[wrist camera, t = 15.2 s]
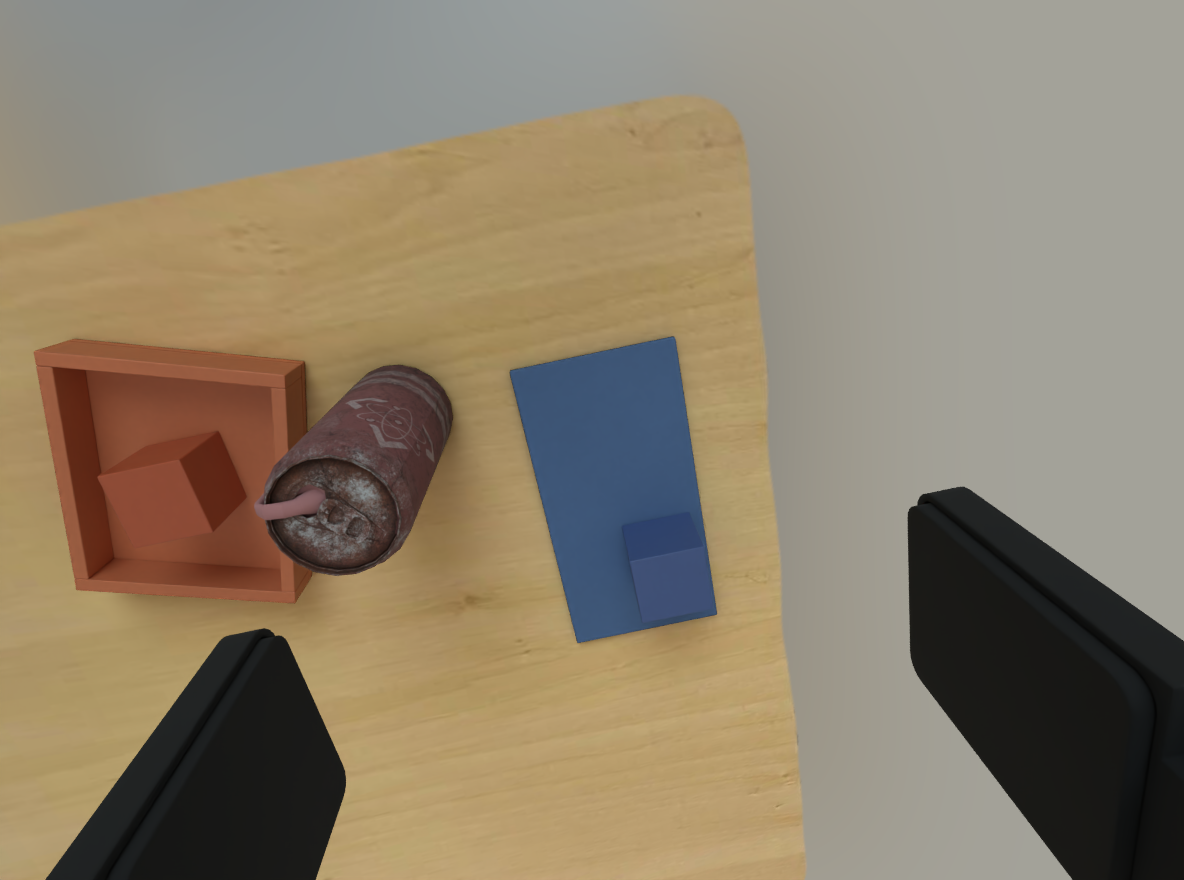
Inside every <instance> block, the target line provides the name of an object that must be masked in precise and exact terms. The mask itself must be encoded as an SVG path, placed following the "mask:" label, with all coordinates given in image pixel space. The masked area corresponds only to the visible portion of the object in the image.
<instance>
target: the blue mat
mask: <svg viewBox="0 0 1184 880" xmlns="http://www.w3.org/2000/svg"><path fill="white" fill-rule="evenodd" d="M510 376H511V380H512V384H513V388H514V392H515V396H516V400H517V404H518V408H519V412H520V416H521V420H522V424H523V428H524V432H525V436H526V440H527V444H528V448H529V452H530V456H531V460H532V464H533V468H534V472H535V476H536V480H537V484H538V488H539V492H540V496H541V500H542V504H543V508H544V512H545V516H546V520H547V524H548V528H549V532H550V536H551V540H552V544H553V548H554V552H555V556H556V560H557V563H558V567H559V571H560V575H561V579H562V583H563V587H564V591H565V595H566V599H567V603H568V607H569V611H570V615H571V619H572V623H573V627H574V631H575V635H576V639H577V643H581V642H585V641H590V640H595V639H600V638H605V637H610V636H615V635H620V634H625V633H629V632H634V631H639V630H644V629H649V628H654V627H659V626H664V625H669V624H673V623H678V622H683V621H688V620H693V619H698V618H703V617H708V616H712V615H717V610H716V603H715V597H714V590H713V584H712V577H711V571H710V564H709V557H708V551H707V544H706V538H705V531H704V524H703V518H702V511H701V505H700V498H699V491H698V485H697V478H696V472H695V465H694V459H693V452H692V445H691V439H690V432H689V426H688V419H687V412H686V406H685V399H684V393H683V386H682V379H681V373H680V366H679V360H678V353H677V347H676V340H675V338H674V337H668V338H663V339H659V340H654V341H649V342H644V343H639V344H635V345H630V346H625V347H620V348H616V349H611V350H606V351H601V352H596V353H592V354H587V355H582V356H577V357H572V358H568V359H563V360H558V361H553V362H549V363H544V364H539V365H534V366H529V367H525V368H520V369H515V370H511V371H510ZM686 512H689V513H690V516H691V518H692V520H693V522H694V525H695V527H696V529H697V531H698V534H699V536H700V538H701V540H702V543H703V545H704V548H705V554H706V561H707V567H708V574H709V580H710V587H711V593H712V600H713V606H714V608H713V609H710V610H705V611H700V612H695V613H690V614H685V615H680V616H675V617H671V618H666V619H661V620H656V621H651V622H646V623H642V620H641V616H640V611H639V607H638V602H637V598H636V593H635V589H634V584H633V580H632V575H631V570H630V565H629V560H628V555H627V550H626V545H625V540H624V535H623V531H622V526H623V525H628V524H633V523H638V522H642V521H647V520H652V519H657V518H662V517H667V516H672V515H676V514H681V513H686Z"/></svg>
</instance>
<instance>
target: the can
mask: <svg viewBox="0 0 1184 880" xmlns="http://www.w3.org/2000/svg"><path fill="white" fill-rule="evenodd" d="M452 420H453V415H452V409H451V403H450V401H449V399H448V397H447V395H446V393H445V391H444V389H443V388H442V387H441V386H440V385H439V384H438V383H437V382H436V381H435V380H434V379H433V378H432V377H431V376H429V375H428V374H426V373H424V372H422V371H420V370H419V369H417V368H412V367H408V366H403V365H392V366H383V367H380V368H378V369H376V370H373V371H371V372H369V373H367V374H366V375H365V376H364V377H363V378H362V379H361V380H360V381H359V382H358V383H357V384H356V385H355V386H354V387H352V388H351V389H350V390H349V391H348V392H347V393H346V394H345V395H344V396H343V397H342V398H341V399H340V400H339V401H338V402H337V403H336V404H335V405H334V406H333V407H332V408H331V409H330V410H329V411H328V412H327V413H326V414H325V415H324V416H323V417H322V418H321V419H320V420H319V421H318V422H317V423H316V424H315V425H314V426H313V427H312V428H311V429H310V430H309V431H308V432H307V433H306V434H305V435H304V436H303V437H302V438H301V439H300V440H299V441H298V442H297V443H296V444H295V445H294V446H293V447H292V448H291V449H290V450H289V451H288V452H287V453H286V454H285V455H284V456H283V457H282V458H281V459H280V460H279V461H278V462H277V463H276V464H275V465H274V467H273V469H272V471H271V473H270V475H269V477H268V479H267V481H266V483H265V488H264V493H263V494H262V495H261V497H260V498H259V499H258V500H257V501H256V502H255V504H254V508H255V511H256V514H257V515H258V516H259V517H261V518H262V519H264V520H265V523H266V527H267V530H268V534H269V535H270V537H271V538H272V540H273V541H274V543H275V544H276V546H277V547H278V548H279V550H280V551H281V552H282V553H284V554H285V555H286V556H287V557H288V558H290V559H291V560H292V561H293V562H295V563H296V564H298V565H300V566H302V567H305V568H307V569H309V570H311V571H313V572H316V573H322V574H328V575H334V576H339V575H350V574H357V573H360V572H362V571H365V570H367V569H370V568H372V567H375V566H376V565H377V564H380V563H382V562H385V561H386V560H387V559H388V558H390V557H391V556H392V555H393V554H394V553H396V552H397V551H398V550H399V549H400V548H401V546H402V545H403V543H404V541H405V540H406V538H407V536H408V535H409V533H410V531H411V529H412V526H413V524H414V521H415V519H416V516H417V514H418V511H419V509H420V506H421V504H422V501H423V499H424V496H425V494H426V491H427V489H428V486H429V484H430V481H431V479H432V477H433V474H434V472H435V469H436V467H437V464H438V462H439V459H440V457H441V454H442V452H443V449H444V447H445V444H446V442H447V439H448V437H449V434H450V431H451V426H452Z"/></svg>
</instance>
